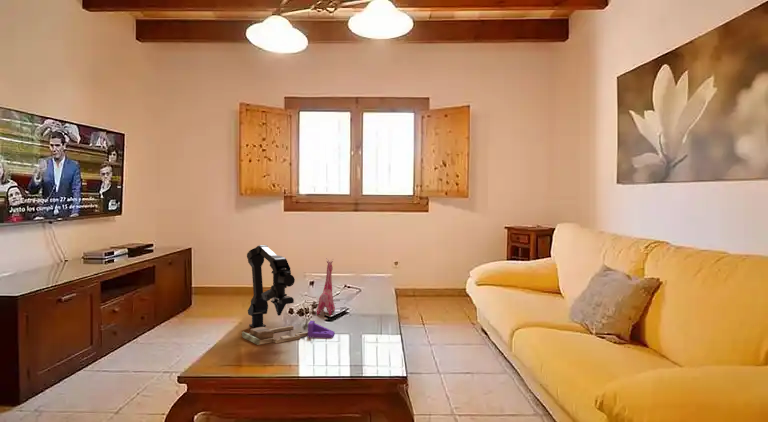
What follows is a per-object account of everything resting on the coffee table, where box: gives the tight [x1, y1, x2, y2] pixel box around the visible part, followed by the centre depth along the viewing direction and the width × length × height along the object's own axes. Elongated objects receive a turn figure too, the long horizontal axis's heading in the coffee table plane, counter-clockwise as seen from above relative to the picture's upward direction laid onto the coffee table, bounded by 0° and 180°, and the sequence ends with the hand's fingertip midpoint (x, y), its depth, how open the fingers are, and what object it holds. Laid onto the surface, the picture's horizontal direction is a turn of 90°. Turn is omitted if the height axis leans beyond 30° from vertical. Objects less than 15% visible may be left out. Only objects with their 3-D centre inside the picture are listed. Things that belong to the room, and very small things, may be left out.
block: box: [249, 326, 274, 340], centre depth 277 cm, size 10×7×4 cm
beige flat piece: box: [241, 325, 308, 346], centre depth 281 cm, size 19×28×2 cm
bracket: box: [307, 320, 336, 339], centre depth 284 cm, size 12×7×7 cm, turn 86°
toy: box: [316, 258, 336, 316], centre depth 334 cm, size 9×26×30 cm, turn 174°
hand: (279, 315), depth 282 cm, fingers closed
